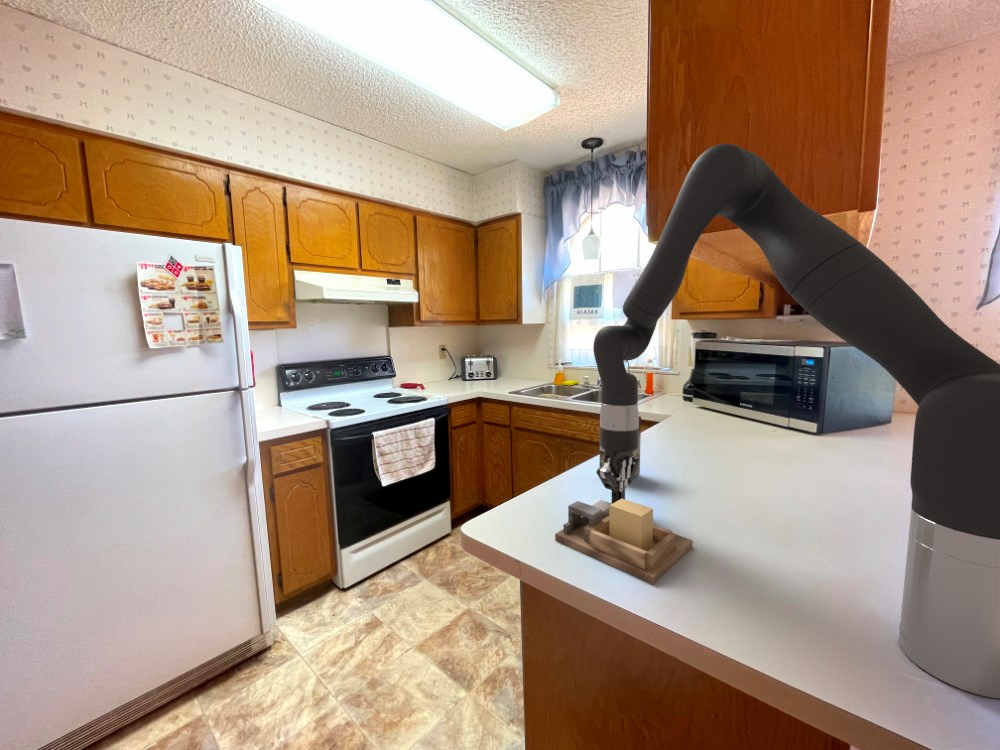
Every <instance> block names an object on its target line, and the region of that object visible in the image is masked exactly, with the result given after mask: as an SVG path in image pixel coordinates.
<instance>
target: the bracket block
mask: <svg viewBox="0 0 1000 750" xmlns="http://www.w3.org/2000/svg"><path fill="white" fill-rule="evenodd" d="M653 525H654V508H652V507H649V506H646V505H643V504H639V503H637V502H635V501H630V500H627V499H626V498H625V499H620V500H618V501H616V502H615V503H613V504H611V505H610V512H609V536H610V537H612V538H615V539H617V540H620V541H622V542H625V543H627V544H630V545H632V546H635V547H637V548H640V549H643V550H645V551H649V550H650V549H651V548H652V547H653Z"/></svg>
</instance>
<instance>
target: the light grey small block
mask: <svg viewBox="0 0 1000 750" xmlns="http://www.w3.org/2000/svg"><path fill="white" fill-rule="evenodd" d="M611 504H612V502H608V501H605V500H602V499H601V500H599V501H597V502H596V503H594V504H592V505H591V506H594V507H597V508H599V509H602V520H603V519H604V518H606V517H607V516H609V512H610V505H611ZM587 523H589V518H587Z"/></svg>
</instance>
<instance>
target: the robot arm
mask: <svg viewBox="0 0 1000 750" xmlns="http://www.w3.org/2000/svg"><path fill="white" fill-rule="evenodd" d="M716 216H719V217H721V218H724V219H726V220H727V221H729V222H730V223H732V224H733V225H734V226H736V227H737V228H739V229H740V230H741V231H743V232H744V233H745V234H746V235H747V236H748V237H749V238H751V239H752V240H753V241H754V242H755V243H756V244H757V246H759V248H760V251H762V253H763V254H764V257H765V259H766V260H767V262H768V264H769V267H770V268H771V270H772V272H773V273H774V275H775V277H776V279H777V280H778V282H779V283H780V285H781V286H782V287H783V289H784V290H785V291H786V292H787V293H788V294H789V295H790V296H791V297H792V299H793V300H795V301H796V302H797V304H799V305H800V307H801V308H803V310H805V311H806V312H807V313H808V314H809V316H811V317H812V318H813V319H814V320H816V322H818V323H819V324H820V325H822V326H823V327H825V328H826V329H827V330H828V331H830V332H831V333H833V334H834V335H836V336H837V337H839V338H840V339H841V340H843V341H844V342H846V343H847V344H849V345H851V346H852V347H854V348H856V349H857V350H858V351H860V352H862V353H863V354H864V355H866V356H867V357H869V358H871V359H872V360H873V361H874V362H876V363H877V364H879V366H880V367H882V368H883V369H884V370H885V371H886V372H888V374H889V375H891V377H892V378H894V380H896V382H897V383H898V384H899V385H900V386H901V388H903V389H904V391H906V393H907V394H908V395H909V396H910V398H911V399H912V400H913V402H915V404H916V405H917V410H916V414H915V421H914V428H913V437H912V438H913V441H912V452H911V468H910V487H911V488H910V489H911V504H910V505H911V509H910V519H909V530H908V539H907V540H908V542H907V552H906V559H905V560H906V561H905V569H904V573H905V574H904V581H903V590H902V591H903V592H902V601H901V612H900V621H899V629H898V630H899V633H898V634H899V635H898V645H899V648H900V649H901V650H902V652H903V654H904V655H905V656H906V657H907V658H908V659H909V660H910V661H912V663H914V664H915V665H917V666H918V667H920V668H921V669H923V671H925V672H927V673H928V674H930V675H931V676H933V677H935V678H937V679H939V680H941V681H942V682H945V683H947V684H949V685H951V686H953V687H956V688H958V689H960V690H963V691H965V692H968V693H969V692H970V693H972V694H975V695H978V696H983V697H987V698H992V699H993V698H994V699H1000V363H999V362H997V361H996V360H994V359H992V358H991V357H989V355H987V354H985V353H984V352H983V351H981V350H980V349H979V348H977V347H975V346H974V345H973V344H971V343H970V342H968V341H967V340H965V339H964V338H963V337H962V336H960V335H959V334H957V332H955V331H954V330H952V328H950V327H949V326H948V325H947V324H946V323H945V322H944V321H943V320H942V319H941V318H940V317H939V315H937V314H936V313H935V311H934V310H933V309H932V308H931V307H930V306H929V305H928V303H926V302H925V301H924V300H923V298H922V297H921V296H920V295H919V294H918V293H917V292H916V291H915V290H914V289H913V288H912V286H910V285H909V284H908V283H907V282H906V281H905V280H904V279H903V278H902V277H901V276H900V275H898V274H897V272H895V271H894V270H893V269H892V268H891V267H890V265H888V264H887V263H886V262H885V261H884V260H882V259H881V258H880V257H879V256H878V255H876V254H875V253H874V252H872V251H871V250H870V249H869V248H868V247H866V246H865V245H864V244H863V243H862V242H861V241H859V240H858V239H857V238H855V237H854V236H852V235H851V234H849V233H848V231H846V230H844V229H843V228H842V227H841V226H839V225H837V224H835V223H834V222H833V221H832V220H830V219H828V218H827V217H825V216H824V215H822V214H820V213H818V211H815V210H814V209H812V208H811V207H809V206H808V205H806V204H805V203H804V202H803V201H801V200H800V198H798V197H797V196H796V195H795V194H794V193H793V192H792V191H791V190H790V188H789V187H787V185H786V184H785V183H784V182H783V181H782V180H781V179H780V178H779V176H778V175H777V174H776V173H775V172H774V170H773V169H772V168H771V167H770V166H769V164H768V163H767V162H766V161H765V160H764V159H763V158H762V157H761V156H759V155H757V154H756V153H754V152H751V151H750V150H747V149H745V148H743V147H741V146H739V145H736V144H732V143H720V144H716V145H713V146H711V147H709V148H707V149H706V150H705V151H704V152H702V153H701V154H700V155H699V156H698V157H697V159H696V160H695V161H694V163H693V164H692V166H691V167H690V169H689V171H688V173H687V175H686V176H685V179H684V181H683V183H682V186H681V188H680V191H679V192H678V194H677V197H676V200H675V202H674V203H673V207H672V210H671V211H670V214H669V216H668V218H667V221H666V223H665V225H664V227H663V229H662V231H661V234H660V237H659V239H658V242H657V243H656V246H655V248H654V250H653V252H652V254H651V257H650V258H649V260H648V261H647V264H646V265H645V268H644V269H643V270H642V272H641V273H640V276H639V277H638V278H637V280H636V282H635V284H634V285H633V287H632V289H631V290H630V292H629V294H628V295H627V297H626V298H625V300H624V303H623V305H622V313H623V314H624V316H625V317H626V322H625V323H624V324H623V325H606V326H603V327H601V328H600V329H599V330H598V331H597V333H596V335H595V337H594V341H593V356H594V360H595V363H596V367H597V371H598V374H599V378H600V383H601V389H600V392H601V396H600V397H601V404H600V405H601V406H600V412H599V447H600V446H601V447H602V448H603V449H604V450H605V457H604V463H605V464H604V466H603V468H602V469H600V468H597V469H596V475H597V476H598V478H599V480H600V482H601V483H602V485H603V487H604V488H605V489H606V490H611V503H612V504H613V503H615V502H616V501H618V500H620V499H625V500H626V490H627V489H628V485H631V484H632V482H633V479H634V478H633V477H634V474H635V471H636V468H637V465H638V462H639V458H636V457H634V456H633V451H635V450H636V449H637V448H638V436H639V416H640V414H639V413H640V412H639V405H638V404H639V403H638V402H639V398H638V397H639V386H638V385H639V383H638V379H637V377H636V376H635V374H632V373H630V372H627V368H626V366H625V362H626V361H632V360H633V361H634V360H635V359H638V358H639V357H640V356H641V355H642V354H643V353H644V352H645V351H646V349H648V347H649V345H650V342H651V341H652V337H653V335H654V332H655V330H656V327H657V324H658V321H659V319H660V318H661V316H662V315H663V314H664V313H665V311H666V309H667V308H668V307H669V305H670V304H671V302H672V301H673V300H674V298H675V296H676V294H677V293H678V291H679V289H680V287H681V285H682V283H683V280H684V277H685V274H686V270H687V267H688V264H689V260H690V258H691V254H692V253H693V250H694V248H695V246H696V244H697V242H698V241H699V238H700V237H701V235H702V234H703V232H704V231H705V230H706V228H707V227H708V226H709V224H710V223H712V221H713V220H714V219H715V217H716Z"/></svg>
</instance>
